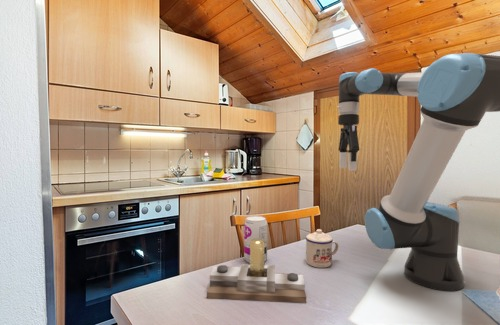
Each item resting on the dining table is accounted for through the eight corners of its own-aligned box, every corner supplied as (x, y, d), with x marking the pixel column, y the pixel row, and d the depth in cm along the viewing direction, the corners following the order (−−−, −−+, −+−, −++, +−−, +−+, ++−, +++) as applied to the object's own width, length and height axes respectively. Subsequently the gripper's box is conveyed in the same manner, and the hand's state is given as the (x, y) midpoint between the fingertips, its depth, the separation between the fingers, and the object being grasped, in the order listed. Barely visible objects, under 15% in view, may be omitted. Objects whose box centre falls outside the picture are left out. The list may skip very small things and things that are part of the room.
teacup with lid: (313, 269, 89) (313, 234, 89) (301, 259, 98) (301, 227, 98) (345, 265, 92) (345, 232, 92) (330, 255, 101) (331, 224, 101)
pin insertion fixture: (301, 278, 83) (301, 261, 83) (306, 302, 70) (306, 281, 70) (216, 275, 85) (216, 258, 85) (206, 297, 72) (206, 277, 72)
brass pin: (260, 278, 80) (260, 238, 80) (266, 284, 77) (266, 242, 76) (247, 281, 79) (247, 239, 78) (253, 287, 75) (254, 244, 74)
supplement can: (247, 265, 92) (247, 222, 92) (241, 256, 100) (241, 216, 100) (270, 263, 95) (270, 220, 94) (262, 254, 103) (263, 214, 102)
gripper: (331, 118, 118) (331, 167, 119) (347, 109, 94) (346, 171, 95) (349, 118, 118) (348, 167, 119) (369, 109, 93) (368, 171, 94)
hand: (347, 169), depth 107 cm, fingers open, 13 cm apart
